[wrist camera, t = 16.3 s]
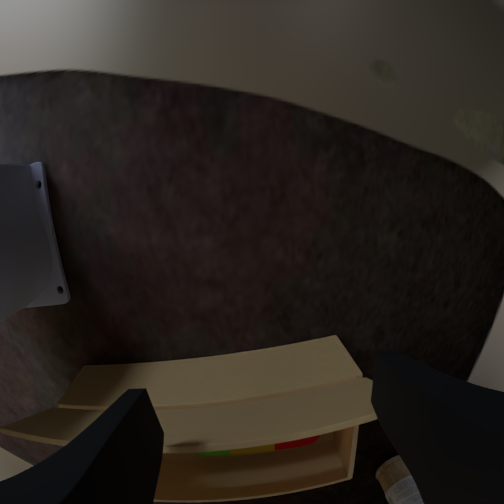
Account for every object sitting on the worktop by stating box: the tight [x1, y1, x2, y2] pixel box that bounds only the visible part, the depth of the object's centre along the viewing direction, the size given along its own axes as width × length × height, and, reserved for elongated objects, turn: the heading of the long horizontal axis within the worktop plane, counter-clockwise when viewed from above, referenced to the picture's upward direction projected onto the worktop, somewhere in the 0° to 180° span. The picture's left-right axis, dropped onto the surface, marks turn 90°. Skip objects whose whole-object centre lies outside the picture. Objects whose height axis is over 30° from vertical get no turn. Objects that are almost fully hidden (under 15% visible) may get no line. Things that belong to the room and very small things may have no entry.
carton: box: [58, 335, 363, 502], centre depth 18 cm, size 11×18×5 cm, turn 98°
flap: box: [0, 377, 378, 453], centre depth 12 cm, size 5×18×1 cm
